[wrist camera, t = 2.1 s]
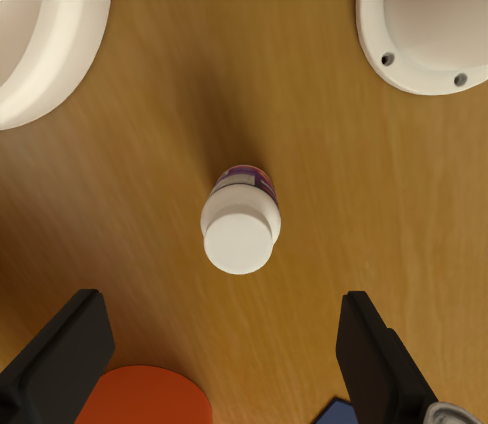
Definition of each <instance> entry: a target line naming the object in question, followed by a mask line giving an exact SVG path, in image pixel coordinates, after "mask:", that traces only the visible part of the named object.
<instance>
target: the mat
mask: <svg viewBox="0 0 488 424" xmlns="http://www.w3.org/2000/svg"><path fill="white" fill-rule="evenodd" d="M313 424H358V421H357V418H356V415H355V412H354V409H353V406H352V404H351V403H348V402H345V401H343V400H340V399H337V398H335V399H334V400H333V401H332V402H331V403H330V404H329V405H328V407H327V408H326V409H325V410H324V411H323V412H322V414H321V415H320V416H319V417H318V418H317V419H316V420H315V422H314V423H313Z"/></svg>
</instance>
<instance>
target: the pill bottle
mask: <svg viewBox="0 0 488 424" xmlns="http://www.w3.org/2000/svg"><path fill="white" fill-rule="evenodd" d="M280 228H281V218H280V212H279V208H278V203H277V198H276V194H275V189H274V186H273V184H272V182H271V180H270V178H269V177H268V176H267V174H266V173H264V172H263V171H262V170H260V169H259V168H256V167H254V166H250V165H238V166H235V167H232V168H230V169H228V170H226V171H225V172H224V173H223V174H222V175H221V176H220V177H219V179H218V180H217V182H216V184H215V186H214V188H213V189H212V191H211V193H210V195H209V197H208V199H207V201H206V203H205V205H204V207H203V210H202V214H201V230H202V234H203V236H204V249H205V252H206V254H207V256H208V258H209V260H210V261H211V262H212V263H213V264H214V265H215V266H216V267H218V268H219V269H221V270H223V271H225V272H228V273H231V274H247V273H251V272H253V271H256V270H257V269H259V268H260V267H262V266H263V265H264V264H265V263H266V262H267V260H268V259H269V257H270V255H271V252H272V248H273V245H274V243H275V242H276V240H277V238H278V236H279V233H280Z"/></svg>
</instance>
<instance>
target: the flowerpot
mask: <svg viewBox="0 0 488 424" xmlns="http://www.w3.org/2000/svg"><path fill="white" fill-rule="evenodd" d="M74 424H213V421H212V411H211V405H210V403H209V401H208V399H207V397H206V395H205V394H204V393H203V392H202V390H201V389H200V388H199V387H198V386H196V385H195V384H194V383H193V382H192V381H190V380H188V379H187V378H185V377H183V376H182V375H180V374H177V373H175V372H173V371H170V370H167V369H163V368H159V367H154V366H146V365H134V366H126V367H120V368H117V369H114V370H112V371H109V372H107V373H106V374H104V375H103V376H101V377H100V378H99V380H98V382H97V384H96V385H95V387H94V389H93V391H92V393H91V394H90V396H89V398H88V400H87V401H86V403H85V405H84V407H83V409H82V410H81V412H80V414H79V416H78V417H77V419H76V421H75V423H74Z"/></svg>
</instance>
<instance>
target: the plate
mask: <svg viewBox="0 0 488 424" xmlns="http://www.w3.org/2000/svg"><path fill="white" fill-rule="evenodd" d="M110 4H111V0H0V130H7V129H11V128H15V127H18V126H22V125H24V124H27V123H29V122H32V121H34V120H37V119H38V118H40V117H42V116H44V115H45V114H47V113H49V112H51V111H52V110H53V109H54V108H56V107H57V106H58V105H60V104H61V103H62V102H63V101H64V100H65V99H66V98H67V97H68V96H69V95H70V94H71V93H72V92H73V91H74V90H75V88H76V87H77V86H78V85H79V83H80V82H81V81H82V79H83V78H84V76H85V75H86V73H87V71H88V69H89V68H90V66H91V64H92V63H93V60H94V58H95V56H96V53H97V51H98V49H99V46H100V44H101V41H102V37H103V34H104V31H105V28H106V24H107V19H108V14H109V9H110Z"/></svg>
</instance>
